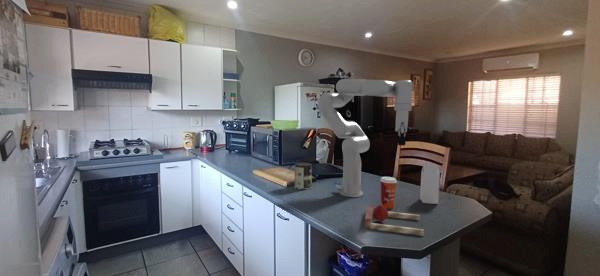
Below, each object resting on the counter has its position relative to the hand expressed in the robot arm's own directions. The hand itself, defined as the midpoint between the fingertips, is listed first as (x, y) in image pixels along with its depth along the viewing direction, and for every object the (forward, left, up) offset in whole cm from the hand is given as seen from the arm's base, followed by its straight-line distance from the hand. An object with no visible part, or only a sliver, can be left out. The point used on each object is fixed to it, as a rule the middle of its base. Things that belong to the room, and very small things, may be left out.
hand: (401, 143), depth 135 cm
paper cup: (-5, -3, -31) cm, 31 cm away
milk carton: (+15, +12, -31) cm, 36 cm away
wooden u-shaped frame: (-2, -23, -30) cm, 38 cm away
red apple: (-8, -23, -31) cm, 39 cm away
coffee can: (-53, +16, -31) cm, 63 cm away
